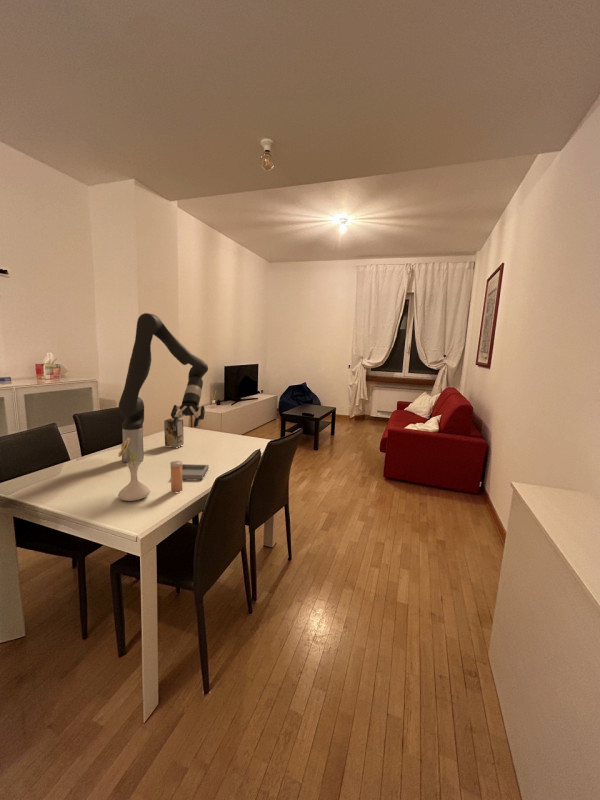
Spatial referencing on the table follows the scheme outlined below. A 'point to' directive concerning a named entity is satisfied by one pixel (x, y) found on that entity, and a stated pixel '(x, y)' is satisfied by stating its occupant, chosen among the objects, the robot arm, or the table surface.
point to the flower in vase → (132, 479)
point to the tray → (194, 471)
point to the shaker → (176, 476)
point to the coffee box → (173, 433)
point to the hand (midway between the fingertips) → (185, 426)
